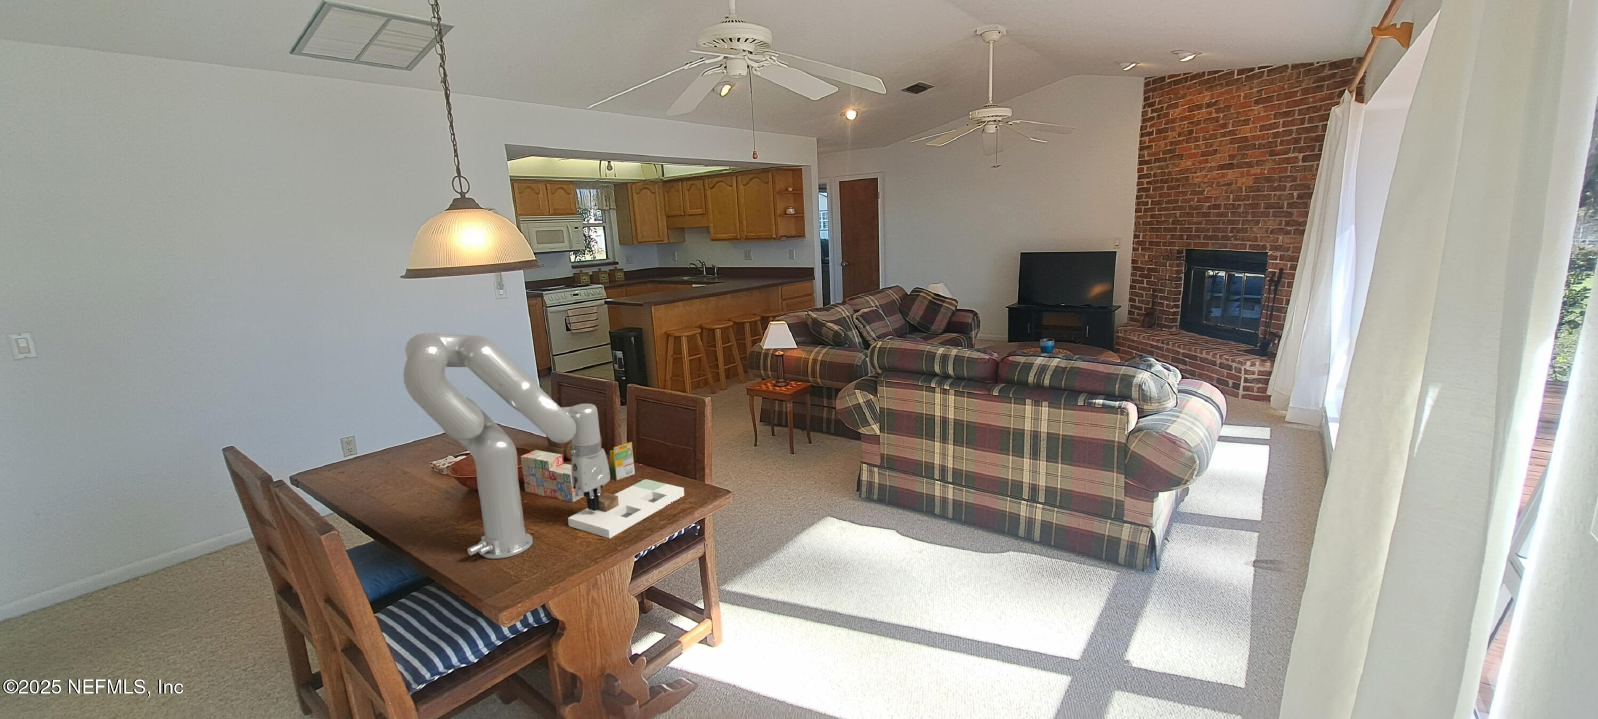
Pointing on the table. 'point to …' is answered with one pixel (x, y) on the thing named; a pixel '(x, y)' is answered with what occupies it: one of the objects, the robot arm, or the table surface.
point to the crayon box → (622, 461)
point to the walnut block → (608, 502)
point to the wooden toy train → (562, 448)
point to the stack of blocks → (548, 475)
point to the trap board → (627, 508)
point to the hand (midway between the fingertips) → (594, 508)
